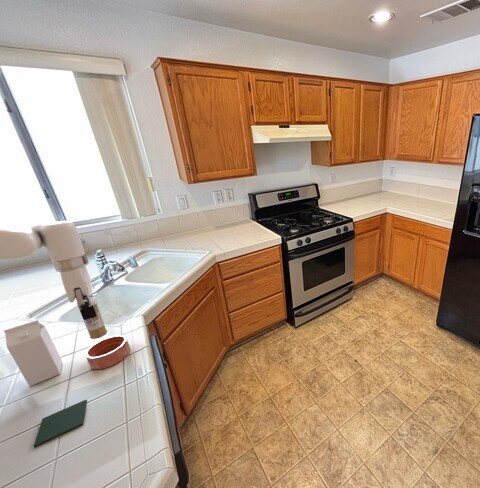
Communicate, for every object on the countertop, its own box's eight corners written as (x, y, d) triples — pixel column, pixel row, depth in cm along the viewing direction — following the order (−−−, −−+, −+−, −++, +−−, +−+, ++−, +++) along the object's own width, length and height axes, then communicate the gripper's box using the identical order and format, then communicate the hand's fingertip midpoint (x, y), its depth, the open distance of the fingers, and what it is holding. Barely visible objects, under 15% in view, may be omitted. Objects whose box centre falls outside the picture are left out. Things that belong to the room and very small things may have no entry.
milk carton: (33, 373, 86) (6, 325, 80) (62, 362, 90) (39, 315, 84) (29, 386, 81) (0, 336, 74) (60, 374, 85) (35, 325, 79)
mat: (34, 448, 63) (33, 446, 63) (43, 420, 70) (42, 418, 70) (83, 424, 68) (82, 423, 67) (87, 400, 75) (86, 399, 74)
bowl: (88, 376, 83) (83, 363, 82) (92, 356, 92) (87, 344, 90) (131, 359, 90) (126, 347, 88) (130, 342, 98) (126, 331, 97)
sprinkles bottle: (88, 341, 84) (73, 305, 80) (92, 333, 88) (78, 298, 84) (106, 336, 86) (92, 300, 82) (109, 329, 90) (96, 294, 86)
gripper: (59, 257, 83) (79, 307, 89) (47, 274, 70) (71, 331, 76) (90, 252, 87) (107, 300, 93) (84, 267, 74) (104, 321, 80)
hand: (91, 313), depth 85 cm, fingers closed on sprinkles bottle, 4 cm apart
